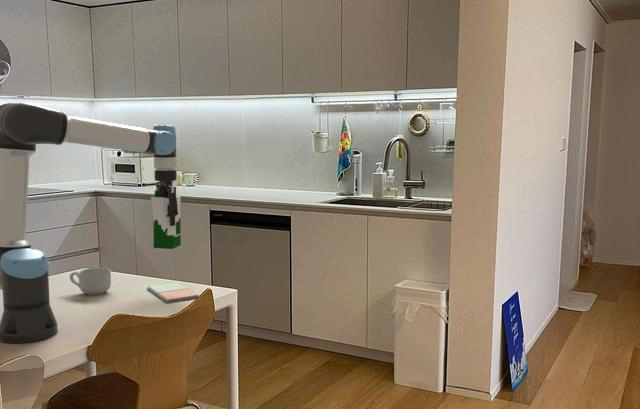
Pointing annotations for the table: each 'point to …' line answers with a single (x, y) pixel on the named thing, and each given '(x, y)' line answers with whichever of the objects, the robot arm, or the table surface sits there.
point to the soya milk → (164, 222)
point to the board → (172, 292)
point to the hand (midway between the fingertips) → (166, 232)
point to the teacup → (93, 280)
